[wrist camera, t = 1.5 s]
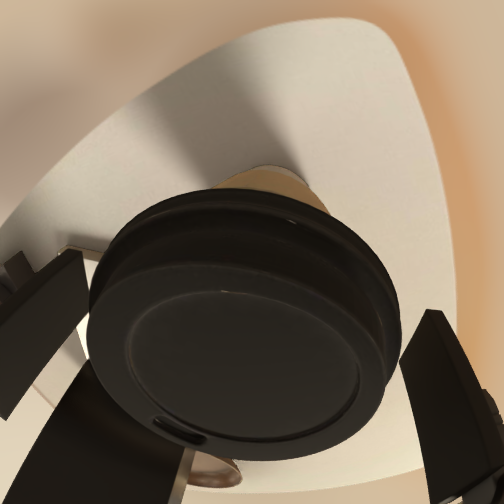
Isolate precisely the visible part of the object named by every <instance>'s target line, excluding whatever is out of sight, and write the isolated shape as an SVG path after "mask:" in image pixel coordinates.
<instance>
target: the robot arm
mask: <svg viewBox="0 0 504 504" xmlns="http://www.w3.org/2000/svg"><path fill="white" fill-rule="evenodd" d="M88 298H89V287H88V282H87V276H86V271H85V265H84V259H83V252H82V251H80V250H76V249H71V248H67V249H66V250H65V251H64V252H62V253H61V254H60V255H58V256H57V257H56V258H55V259H53V260H52V261H51V262H50V263H48V264H47V265H46V266H45V267H43V268H42V269H41V270H40V271H39V272H37V273H36V274H35V275H34V276H33V277H31V278H30V279H29V280H28V281H27V282H26V283H24V284H23V285H22V286H21V287H20V288H19V289H17V290H16V291H15V292H14V293H13V294H12V295H11V296H10V297H9V298H7V299H6V300H5V301H4V302H3V303H2V304H0V417H1V418H2V419H4V420H5V421H6V420H7V419H8V417H9V416H10V414H11V413H12V411H13V410H14V408H15V407H16V406H17V404H18V403H19V401H20V400H21V398H22V397H23V396H24V394H25V393H26V391H27V390H28V389H29V387H30V386H31V384H32V383H33V382H34V380H35V379H36V378H37V376H38V375H39V374H40V372H41V371H42V370H43V368H44V367H45V366H46V364H47V363H48V362H49V360H50V359H51V358H52V357H53V355H54V354H55V353H56V351H57V350H58V349H59V348H60V346H61V345H62V344H63V343H64V341H65V340H66V339H67V338H68V336H69V335H70V334H71V333H72V332H73V330H74V329H75V328H76V327H77V326H78V324H79V323H80V322H81V321H82V320H83V318H84V317H85V316H86V315H87V314H88V312H89V310H88ZM399 365H400V368H401V371H402V375H403V378H404V382H405V385H406V389H407V393H408V397H409V400H410V404H411V408H412V412H413V416H414V420H415V424H416V429H417V433H418V438H419V442H420V447H421V452H422V457H423V462H424V468H425V473H426V479H427V485H428V492H429V499H430V504H447V503H450V502H452V501H454V500H455V499H457V498H459V497H460V496H462V500H463V501H462V502H460V503H458V504H504V424H503V420H502V418H501V415H499V410H498V408H497V406H496V403H495V401H494V399H493V398H492V397H491V395H490V394H489V393H488V392H487V391H486V389H481V386H480V384H479V382H478V379H477V377H476V375H475V373H474V371H473V369H472V367H471V365H470V362H469V360H468V358H467V356H466V354H465V352H464V351H463V348H462V347H461V345H460V343H459V341H458V339H457V337H456V335H455V333H454V331H453V330H452V328H451V326H450V324H449V322H448V320H447V319H446V317H445V315H444V313H443V312H442V311H440V310H431V309H426V310H425V313H424V315H423V317H422V319H421V321H420V323H419V325H418V327H417V329H416V331H415V332H414V334H413V336H412V338H411V340H410V342H409V344H408V346H407V347H406V349H405V351H404V353H403V354H402V356H401V358H400V360H399Z"/></svg>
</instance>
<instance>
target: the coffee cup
mask: <svg viewBox="0 0 504 504" xmlns="http://www.w3.org/2000/svg"><path fill="white" fill-rule="evenodd" d="M88 310H89V319H88V323H87V328H86V345H87V351H88V355H89V358H90V362H91V364H92V367H93V369H94V371H95V373H96V375H97V377H98V379H99V380H100V382H101V383H102V385H103V386H104V388H105V389H106V390H107V392H108V393H109V394H110V395H111V397H112V398H113V399H114V400H115V401H116V402H117V403H118V404H119V405H120V406H121V407H122V408H123V409H124V410H125V411H126V412H127V413H128V414H130V415H131V416H132V417H133V418H134V419H136V420H137V421H138V422H140V423H141V424H143V425H144V426H146V427H147V428H149V429H150V430H152V431H154V432H155V433H157V434H159V435H161V436H163V437H164V438H166V439H168V440H171V441H173V442H175V443H177V444H180V445H182V446H184V447H187V448H190V449H193V450H196V451H199V452H202V453H206V454H210V455H214V456H218V457H223V458H229V459H236V460H246V461H277V460H287V459H294V458H299V457H304V456H308V455H312V454H315V453H318V452H321V451H324V450H326V449H329V448H331V447H333V446H336V445H338V444H340V443H341V442H343V441H345V440H347V439H348V438H350V437H351V436H353V435H354V434H355V433H357V432H358V431H359V430H360V429H361V428H363V427H364V426H365V425H366V424H367V423H368V421H369V420H370V419H371V418H372V417H373V415H374V414H375V412H376V411H377V409H378V407H379V405H380V403H381V401H382V398H383V395H384V392H385V387H386V385H387V384H388V382H389V380H390V379H391V377H392V375H393V373H394V370H395V368H396V366H397V362H398V359H399V356H400V350H401V343H402V329H401V321H400V309H399V303H398V298H397V294H396V291H395V288H394V285H393V282H392V280H391V278H390V276H389V274H388V272H387V270H386V268H385V267H384V265H383V264H382V262H381V261H380V259H379V258H378V256H377V255H376V254H375V253H374V251H373V250H372V249H371V248H370V247H369V245H368V244H367V243H366V242H365V241H364V240H362V239H361V238H360V237H359V236H358V235H357V234H356V233H355V232H354V231H352V230H351V229H350V228H348V227H347V226H346V225H345V224H343V223H342V222H340V221H339V220H337V219H336V218H334V217H332V216H331V215H330V213H329V212H328V210H327V209H326V207H325V206H324V204H323V203H322V202H321V201H320V199H319V198H318V197H317V196H316V195H315V193H313V192H312V191H311V189H310V188H309V187H308V185H307V184H306V183H305V182H304V181H303V180H302V179H301V178H300V177H299V176H297V175H296V174H295V173H293V172H291V171H289V170H288V169H285V168H282V167H279V166H273V165H262V166H258V167H255V168H253V169H251V170H249V171H246V172H242V173H239V174H236V175H234V176H232V177H231V178H229V179H227V180H225V181H223V182H222V183H220V184H218V185H216V186H215V187H213V188H211V189H206V190H199V191H193V192H189V193H185V194H181V195H177V196H174V197H171V198H169V199H166V200H163V201H161V202H159V203H157V204H155V205H153V206H151V207H149V208H147V209H146V210H144V211H143V212H141V213H139V214H138V215H137V216H135V217H134V218H133V219H132V220H131V221H129V222H128V223H127V224H126V225H125V226H124V227H123V228H122V229H121V230H120V231H119V232H118V234H117V235H116V236H115V238H114V239H113V240H112V242H111V243H110V245H109V247H108V249H107V250H106V252H105V253H104V254H103V256H102V257H101V259H100V261H99V263H98V265H97V266H96V269H95V271H94V274H93V277H92V280H91V284H90V289H89V298H88Z"/></svg>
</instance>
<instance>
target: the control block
mask: <svg viewBox="0 0 504 504" xmlns="http://www.w3.org/2000/svg"><path fill="white" fill-rule="evenodd" d="M34 275H35V274H34V272H33V270H32V269H31V267H30V265H29V263H28V262H27V260H26V258H25V256H24V255H23V253H22V251H20V252H19V253H17V254H16V255H15V256H13V257H12V258H11V259H9V260H8V261H7V262H5V263H4V264H3V265H2V266H1V267H0V304H2V303H3V302H4V301H5V300H6V299H7V298H9V297H10V296H11V295H12V294H13V293H14V292H15V291H16V290H17V289H19V288H20V287H21V286H22V285H23V284H24V283H26V282H27V281H28V280H29V279H30V278H31V277H33V276H34Z"/></svg>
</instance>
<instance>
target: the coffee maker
mask: <svg viewBox="0 0 504 504" xmlns="http://www.w3.org/2000/svg"><path fill="white" fill-rule="evenodd" d="M67 248H71V249H76V250H80V251H82V252H83V259H84V265H85V271H86V276H87V282H88V287H89V289H90V284H91V280H92V277H93V274H94V271H95V269H96V266H97V265H98V263H99V261H100V259H101V257H102V256H103V254H104V253H101V252H96V251H92V250H87V249H82V248H78V247H73V246H68V245H66V246H65V247H63V248H62V249H61V250H60V251H58V252H57V253H58V255H60V254H61V253H62V252H64V251H65V250H66V249H67ZM88 319H89V312H88V314H87V315H86V316H85V317H84V318H83V320H82V321H81V322H80V323H79V324H78V326H77V327H76V328H77V331H78V335H79V338H80V341H81V344H82V347H83V349H84V352H85V355H86V358H87V361H86V362H85V364H84V365H83V367H82V368H81V370H80V371H79V373H78V374H77V376H76V377H75V379H74V380H73V382H72V383H71V385H70V386H69V388H68V389H67V391H66V392H65V394H64V395H63V397H62V398H61V400H60V402H59V403H58V405H57V406H56V408H55V410H54V411H53V413H52V415H51V416H50V418H49V420H48V421H47V423H46V424H45V426H44V427H43V429H42V431H41V433H40V434H39V436H38V438H37V439H36V441H35V443H34V445H33V446H32V448H31V450H30V451H29V453H28V455H27V457H26V459H25V460H24V462H23V464H22V466H21V468H20V470H19V471H18V473H17V475H16V477H15V479H14V481H13V483H12V485H11V487H10V489H9V490H8V492H7V495H6V496H5V499H4V501H3V503H2V504H181V502H182V498H183V495H184V491H185V488H186V485H187V481H188V478H189V474H190V471H191V467H192V464H193V460H194V457H195V453H196V450H193V449H190V448H187V447H184V446H182V445H180V444H177V443H175V442H173V441H171V440H168V439H166V438H164V437H163V436H161V435H159V434H157V433H155V432H154V431H152V430H150V429H149V428H147V427H146V426H144V425H143V424H141V423H140V422H138V421H137V420H136V419H134V418H133V417H132V416H131V415H130V414H128V413H127V412H126V411H125V410H124V409H123V408H122V407H121V406H120V405H119V404H118V403H117V402H116V401H115V400H114V399H113V398H112V397H111V395H110V394H109V393H108V392H107V390H106V389H105V388H104V386H103V385H102V383H101V382H100V380H99V379H98V377H97V375H96V373H95V371H94V369H93V367H92V364H91V362H90V358H89V355H88V351H87V345H86V328H87V323H88Z"/></svg>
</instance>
